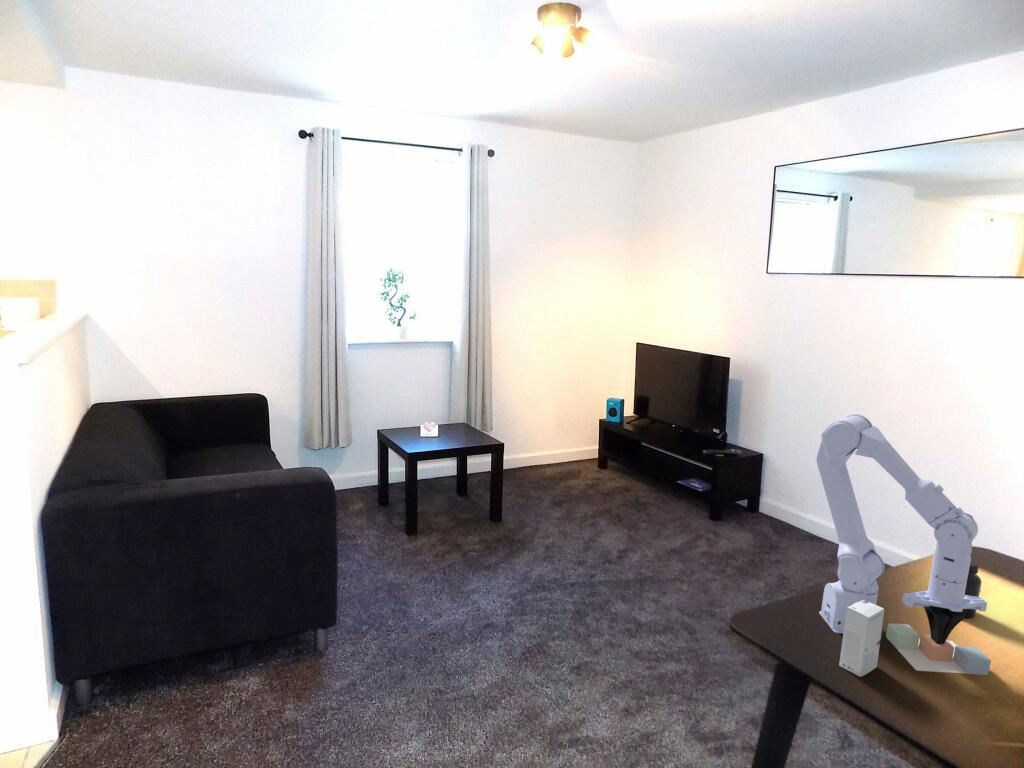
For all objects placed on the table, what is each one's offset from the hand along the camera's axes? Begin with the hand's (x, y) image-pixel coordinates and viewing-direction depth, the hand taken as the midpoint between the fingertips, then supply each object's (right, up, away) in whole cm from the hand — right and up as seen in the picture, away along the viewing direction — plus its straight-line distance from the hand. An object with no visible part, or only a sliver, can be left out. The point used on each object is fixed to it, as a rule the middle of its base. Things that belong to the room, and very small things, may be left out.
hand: (937, 641), depth 127 cm
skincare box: (-17, -4, -4) cm, 18 cm away
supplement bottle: (+16, -1, +18) cm, 24 cm away
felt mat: (0, -3, +1) cm, 3 cm away
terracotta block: (0, -3, +1) cm, 3 cm away
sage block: (-4, -2, +4) cm, 6 cm away
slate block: (+4, -4, -3) cm, 6 cm away
